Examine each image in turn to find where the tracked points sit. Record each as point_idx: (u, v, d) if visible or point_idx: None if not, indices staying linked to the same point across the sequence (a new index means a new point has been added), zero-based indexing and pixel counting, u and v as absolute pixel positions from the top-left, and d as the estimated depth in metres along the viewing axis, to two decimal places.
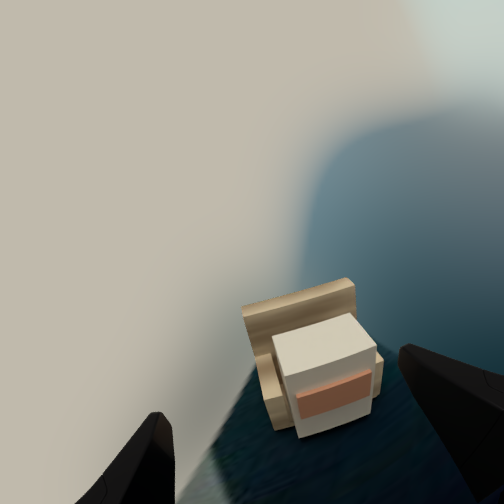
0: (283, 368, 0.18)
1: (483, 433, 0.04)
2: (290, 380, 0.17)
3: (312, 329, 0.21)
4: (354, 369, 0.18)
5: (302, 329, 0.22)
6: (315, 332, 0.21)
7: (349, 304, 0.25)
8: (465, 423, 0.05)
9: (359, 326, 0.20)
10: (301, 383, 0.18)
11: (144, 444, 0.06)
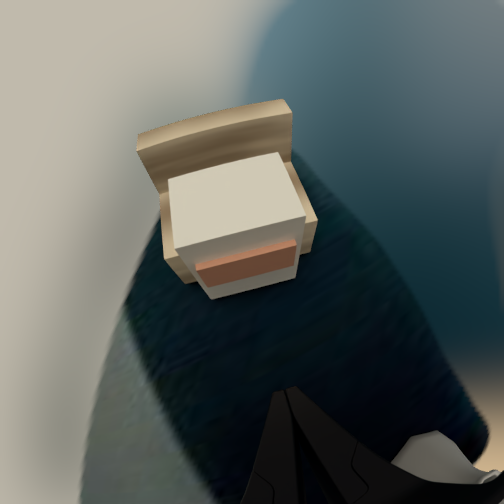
0: (174, 235, 0.14)
1: None
2: (183, 252, 0.14)
3: (221, 172, 0.16)
4: (272, 239, 0.15)
5: (208, 170, 0.16)
6: (224, 177, 0.16)
7: (282, 135, 0.19)
8: (330, 492, 0.05)
9: (287, 177, 0.15)
10: (199, 254, 0.15)
11: (284, 425, 0.07)
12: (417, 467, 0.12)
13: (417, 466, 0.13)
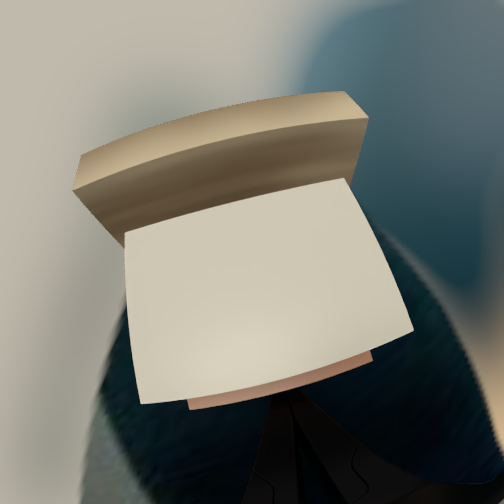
0: (138, 373, 0.06)
1: None
2: None
3: (233, 221, 0.08)
4: None
5: (204, 217, 0.08)
6: (240, 235, 0.07)
7: (344, 156, 0.10)
8: (330, 492, 0.05)
9: (371, 239, 0.07)
10: None
11: (284, 425, 0.07)
12: None
13: None
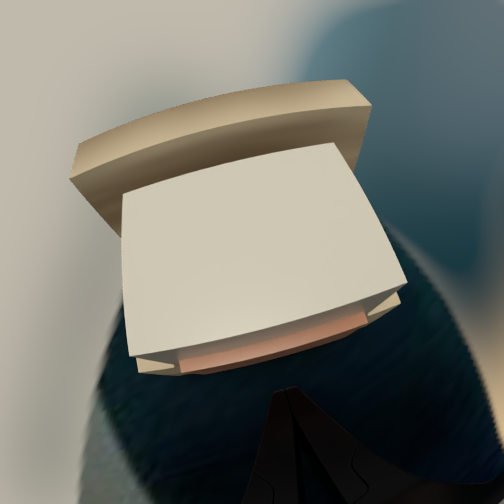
0: (128, 323, 0.06)
1: None
2: (151, 356, 0.06)
3: (226, 179, 0.08)
4: (330, 319, 0.07)
5: (199, 176, 0.08)
6: (233, 191, 0.08)
7: (346, 145, 0.10)
8: (330, 492, 0.05)
9: (360, 195, 0.07)
10: (185, 354, 0.07)
11: (284, 425, 0.07)
12: None
13: None
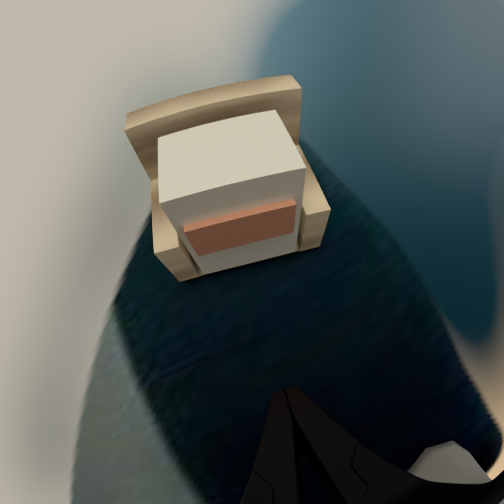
0: (160, 189, 0.12)
1: None
2: (169, 208, 0.13)
3: (214, 128, 0.14)
4: (269, 196, 0.14)
5: (201, 127, 0.14)
6: (218, 133, 0.14)
7: (290, 113, 0.16)
8: (330, 492, 0.05)
9: (285, 132, 0.13)
10: (187, 212, 0.13)
11: (284, 425, 0.07)
12: None
13: (432, 480, 0.10)
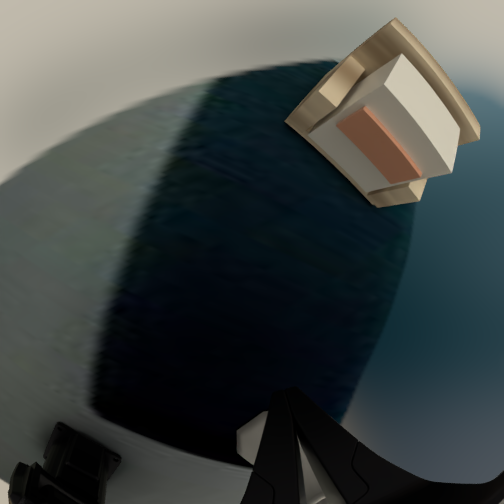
0: (388, 79, 0.11)
1: None
2: (381, 92, 0.12)
3: (431, 93, 0.13)
4: (418, 156, 0.14)
5: (425, 83, 0.13)
6: (431, 98, 0.13)
7: None
8: (330, 492, 0.05)
9: (456, 145, 0.14)
10: (382, 105, 0.13)
11: (284, 425, 0.07)
12: None
13: None
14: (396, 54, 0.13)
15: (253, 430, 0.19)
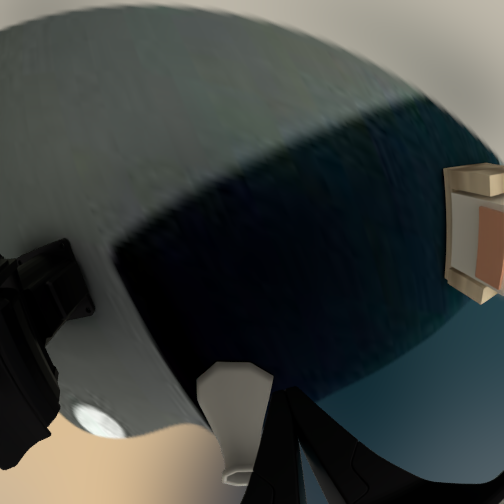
0: None
1: None
2: None
3: None
4: None
5: None
6: None
7: None
8: (330, 492, 0.05)
9: None
10: None
11: (284, 425, 0.07)
12: (253, 395, 0.20)
13: (254, 394, 0.20)
14: None
15: (231, 372, 0.21)
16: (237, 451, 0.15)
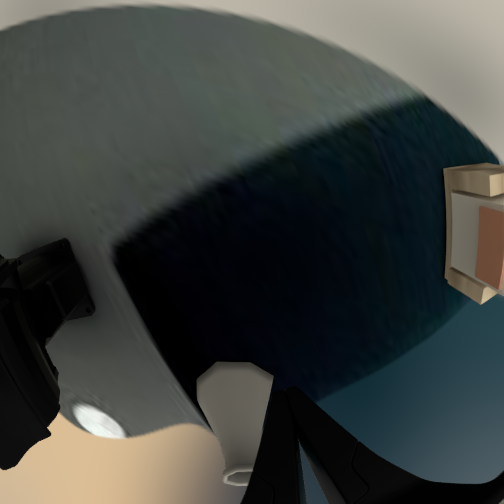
0: None
1: None
2: None
3: None
4: None
5: None
6: None
7: None
8: (330, 492, 0.05)
9: None
10: None
11: (284, 425, 0.07)
12: (253, 394, 0.20)
13: (254, 393, 0.20)
14: None
15: (231, 372, 0.21)
16: (238, 450, 0.15)
